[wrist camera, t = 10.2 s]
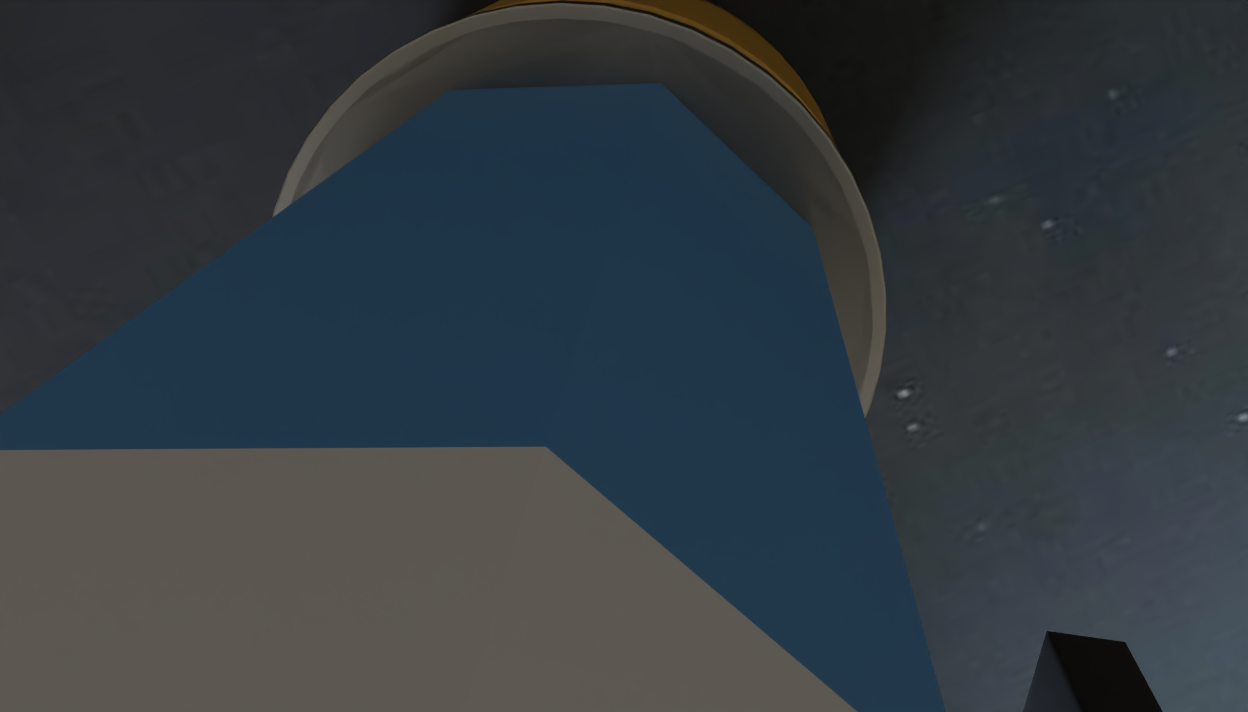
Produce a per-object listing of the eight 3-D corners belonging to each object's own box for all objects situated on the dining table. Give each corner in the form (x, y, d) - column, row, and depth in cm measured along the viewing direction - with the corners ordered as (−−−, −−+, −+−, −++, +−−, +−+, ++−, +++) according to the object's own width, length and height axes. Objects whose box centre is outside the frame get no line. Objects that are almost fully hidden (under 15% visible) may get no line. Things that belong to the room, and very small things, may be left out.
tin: (516, -125, 27) (425, -133, 19) (931, 123, 29) (1018, 218, 20) (319, 281, 31) (172, 424, 23) (692, 483, 33) (682, 687, 24)
